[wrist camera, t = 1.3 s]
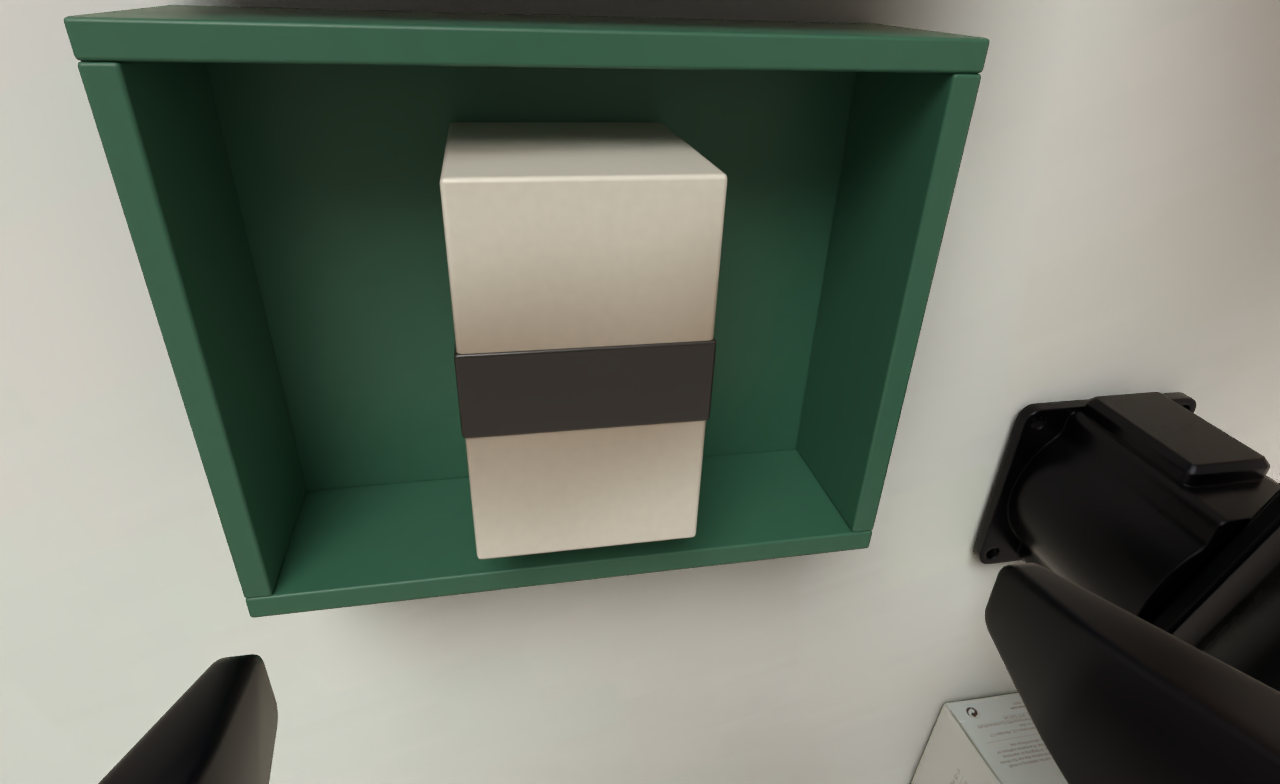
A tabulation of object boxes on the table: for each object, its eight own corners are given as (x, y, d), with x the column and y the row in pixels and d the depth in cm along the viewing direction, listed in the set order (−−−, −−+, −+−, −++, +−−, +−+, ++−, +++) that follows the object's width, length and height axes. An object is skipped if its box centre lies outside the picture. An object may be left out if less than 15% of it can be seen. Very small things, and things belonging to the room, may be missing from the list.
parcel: (650, 416, 21) (699, 539, 16) (474, 430, 20) (474, 563, 16) (664, 120, 17) (733, 174, 12) (446, 120, 16) (435, 179, 12)
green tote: (804, 453, 23) (869, 548, 19) (291, 498, 21) (250, 619, 17) (877, 23, 17) (992, 38, 14) (169, 4, 15) (59, 16, 11)
